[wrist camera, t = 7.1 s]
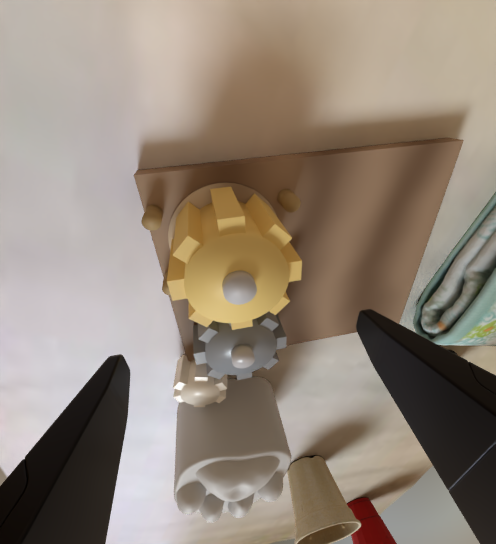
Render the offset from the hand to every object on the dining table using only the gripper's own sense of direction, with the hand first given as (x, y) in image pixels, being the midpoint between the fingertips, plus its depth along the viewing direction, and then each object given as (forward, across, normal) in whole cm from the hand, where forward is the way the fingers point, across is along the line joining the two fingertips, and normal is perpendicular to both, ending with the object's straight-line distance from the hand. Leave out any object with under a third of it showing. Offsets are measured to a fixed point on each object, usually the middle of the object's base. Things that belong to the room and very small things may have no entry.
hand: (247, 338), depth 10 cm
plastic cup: (+10, -23, +71) cm, 75 cm away
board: (+10, -6, +4) cm, 12 cm away
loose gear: (+9, 0, 0) cm, 9 cm away
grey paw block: (+10, +2, +23) cm, 25 cm away
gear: (+9, 0, +8) cm, 12 cm away
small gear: (+9, +3, +13) cm, 16 cm away
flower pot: (+10, -9, +43) cm, 45 cm away
